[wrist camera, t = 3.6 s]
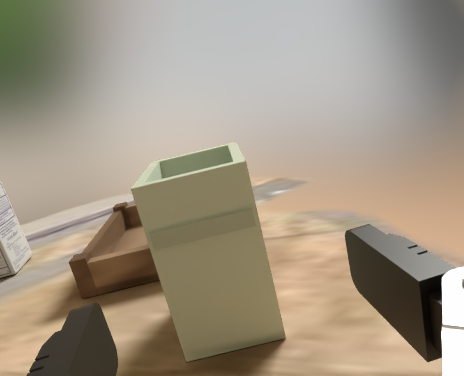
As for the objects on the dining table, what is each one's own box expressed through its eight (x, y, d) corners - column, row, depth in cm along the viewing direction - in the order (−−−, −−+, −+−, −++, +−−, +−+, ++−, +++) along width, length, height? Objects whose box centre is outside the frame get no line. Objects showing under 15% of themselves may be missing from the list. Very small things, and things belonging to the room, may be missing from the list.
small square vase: (185, 364, 18) (129, 189, 15) (191, 294, 24) (152, 161, 21) (286, 340, 18) (246, 161, 15) (266, 276, 24) (235, 141, 21)
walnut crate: (82, 298, 27) (68, 262, 26) (124, 230, 40) (115, 204, 39) (237, 261, 27) (228, 223, 26) (227, 205, 40) (221, 179, 39)
